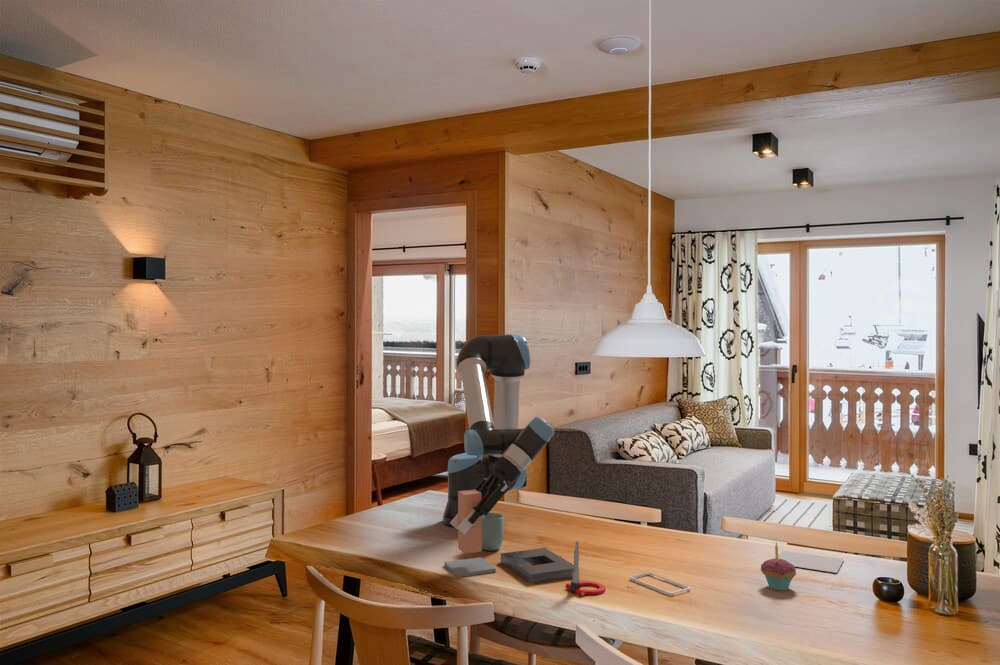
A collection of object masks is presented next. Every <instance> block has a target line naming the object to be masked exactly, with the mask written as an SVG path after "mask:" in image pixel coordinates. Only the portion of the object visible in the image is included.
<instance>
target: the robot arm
mask: <svg viewBox="0 0 1000 665" xmlns="http://www.w3.org/2000/svg"><path fill="white" fill-rule="evenodd" d="M530 367H531V354H530V348H529V343H528V341H527V339H526V338H525V337H524V336H523V335H521V334H520V335H519V334H479V335H476V336H473V337H471V338H470V339H468V340H467V341H466V342H464V345H463V346H462V347H461V348H460V350H459V353H458V355H457V357H456V369H457V374H458V376H460V377H461V381H462V388H463V396H464V402H465V409H466V410H465V411H466V416H467V423H468V430H465V432H464V434H463V436H464V437H463V444H464V445H463V446H464V452H463V453H458V454H455V455H453V456H451V457H450V458H449V459H448V462H447V471H446V472H447V502H446V505H445V508H444V511H443V514H442V515H443V516H442V524H443V525H445V526H448V527H453V528H455V529H456V530H457V531H458V529H459V530H460V531H461V532H462V533H463V534H464V535H465V534H466V533H467V531H468V530H469V529H470V528H471V527H472V525H473V524H474V523H475V522H476V521H477V519H478V518H479V517H480V516H482V515H485V516H486V515H487V514H488V513H491V511H492V510H493V508H494V507H495V506H496V505H497V504H498V502H499V501H500V499H502V497H503V496H504V495H505V494H507V492H509V491H512V490H520V489H521V488H522V487H523V485H524V484H525V481H526V477H527V471H528V470H527V469H528V468H529V467H530V466H529V465H530V464H531V463H532V461H534V459H535V458H536V456H538V454H539V453H540V452H541V451H542V449H543V448H544V447H545V446H546V445H547V444H548V443H549V442H550V441H551V439H552V438H553V436H554V434H555V429H554V428H553V426H552V425H551V424H550V423H549V422H548V421H546V420H545V419H543V418H541V417H540V416H535V417H533V419H531V421H529V422H528V423H527V425H526V426H525V427H523V428H519V415H520V414H519V413H520V412H519V411H520V409H519V408H520V387H521V386H520V382H521V379H522V378H523V377H525V370H529V369H530ZM487 370H488V371H489V374H490V376H491V377H492V378H493V379H494V382H493V383H494V391H493V392H494V393H493V411H492V406H491V402H490V395H489V389H488V385H487V380H486V371H487ZM492 412H493V413H492ZM464 490H477V491H479V492H481V493H482V500H481V501H480V503H479V504H478V506H477V507H473V509H474V510H472V511H471V512H470V513H469V514H468V515H467V517H466V518H465V519H464V520H463V521H462V523H461V524H460V525H459V526H458V491H464Z"/></svg>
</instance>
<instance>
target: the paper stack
mask: <svg viewBox="0 0 1000 665" xmlns="http://www.w3.org/2000/svg"><path fill="white" fill-rule="evenodd" d="M778 558H779V559H783V560H786V561H787V562H789V563H791V564H792V565H793V566H794V567H795V568H802V569H809V570H815V571H823V572H828V573H835V574H837V573H838V572H839V570H840V568H841V566H842V564H843V563H844V561H845V559H844V558H836V557H832V556H831V557H829V556H823V555H815V554H809V553H801V552H794V551H788V550H782V551H781V552H780V553H778Z"/></svg>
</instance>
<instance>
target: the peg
mask: <svg viewBox="0 0 1000 665" xmlns="http://www.w3.org/2000/svg"><path fill="white" fill-rule="evenodd" d="M481 500H482V493H481V492H479V491H477V490H464V491H458V526H459V525H460V524H461V523H462V521H463V520H464V519H465V518H466V517H467V515H468V514H469V513H470V512H471V511H472V510H474V509H473V507H477V506H478V504H479V503H480V501H481ZM457 531H458V532H457V533H458V535H457V537H458V539H457V540H458V541H457V542H458V543H457V544H458V546H457V547H458V549H457V550H459V551H461V552H462V553H463V554H472V553H479V552H483V549H482V516H480V517H479V518H478V519H477V521H476V522H475V523H474V524H473V525H472V527H471V528H470V529H469V530H468V531H467V533H466V534H465V535H464V534H463V533H462V532H461V531H460V530H459V529H458V530H457Z"/></svg>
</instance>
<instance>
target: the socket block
mask: <svg viewBox="0 0 1000 665" xmlns="http://www.w3.org/2000/svg"><path fill="white" fill-rule="evenodd" d="M501 562H502V564H503V565H504V566H505V565H506V567H507V568H508V567H509V568H508V569H510V570H511V569H512V570H513V572H514V573H515V572H516V573H515V574H517V575H518V576H519V575H520V577H521V578H522V577H523V578H522V579H523V580H525V579H526V580H527V582H528V581H529V582H530V583H529V582H528V583H529V584H531V583H535V584H540V583H539V582H542V583H547V582H546V581H548V582H555V581H560V580H561V581H562V580H567V579H572V575H573V572H574V563H572V562H571V561H569V560H567V559H565V558H563V557H562V556H560V555H559V554H557V553H555V552H553V551H552V550H549V549H548V548H547V547H541V548H534V549H533V548H532V549H526V550H525V549H524V550H517V551H510V552H509V551H508V552H502V553H500V563H501ZM512 570H511V571H512ZM578 572H579V573H580V566H578ZM526 580H525V581H526ZM554 580H555V581H554Z"/></svg>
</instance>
